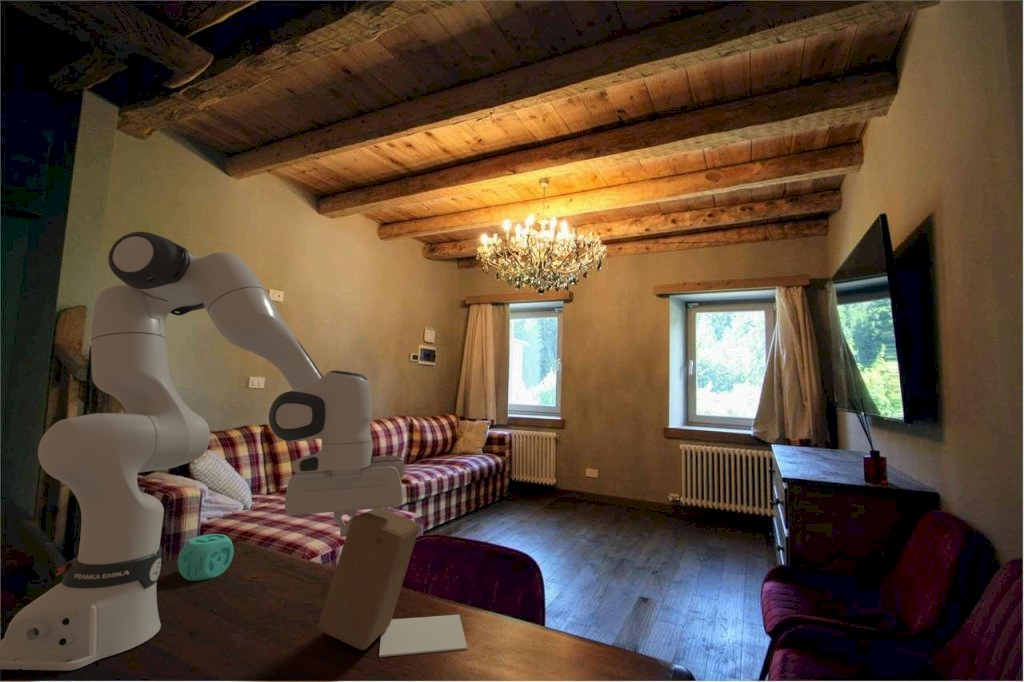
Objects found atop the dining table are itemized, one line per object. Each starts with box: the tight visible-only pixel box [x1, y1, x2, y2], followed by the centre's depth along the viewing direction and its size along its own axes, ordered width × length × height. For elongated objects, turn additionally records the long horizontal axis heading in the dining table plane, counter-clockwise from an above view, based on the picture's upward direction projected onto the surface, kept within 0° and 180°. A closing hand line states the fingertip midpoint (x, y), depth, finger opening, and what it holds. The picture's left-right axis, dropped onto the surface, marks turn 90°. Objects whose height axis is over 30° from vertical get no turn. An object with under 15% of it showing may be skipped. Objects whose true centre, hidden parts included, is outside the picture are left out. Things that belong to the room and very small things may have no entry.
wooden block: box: [317, 508, 420, 651], centre depth 82 cm, size 10×10×20 cm
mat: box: [378, 614, 468, 658], centre depth 83 cm, size 15×12×1 cm
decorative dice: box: [177, 533, 235, 582], centre depth 107 cm, size 8×8×8 cm
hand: (345, 535), depth 82 cm, fingers closed, pressing on wooden block
